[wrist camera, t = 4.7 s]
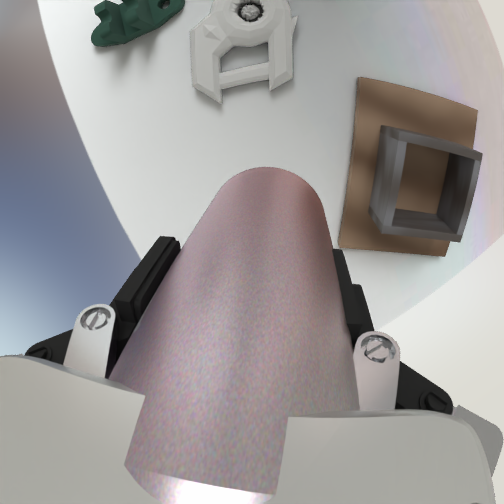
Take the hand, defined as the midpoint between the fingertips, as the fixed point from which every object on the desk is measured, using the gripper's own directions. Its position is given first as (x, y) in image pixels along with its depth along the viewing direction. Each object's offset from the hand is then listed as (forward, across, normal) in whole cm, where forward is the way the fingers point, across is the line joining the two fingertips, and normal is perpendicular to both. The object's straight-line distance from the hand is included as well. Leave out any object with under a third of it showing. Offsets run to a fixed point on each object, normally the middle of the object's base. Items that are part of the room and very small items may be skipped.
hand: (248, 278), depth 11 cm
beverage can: (+6, 0, 0) cm, 6 cm away
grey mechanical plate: (+21, +3, -15) cm, 26 cm away
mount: (+21, +14, -16) cm, 30 cm away
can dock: (+20, -15, 0) cm, 25 cm away
